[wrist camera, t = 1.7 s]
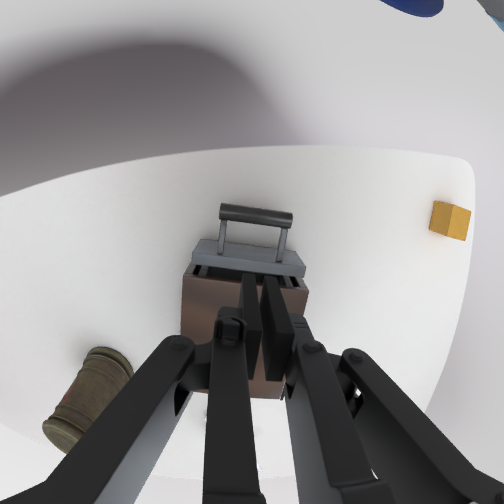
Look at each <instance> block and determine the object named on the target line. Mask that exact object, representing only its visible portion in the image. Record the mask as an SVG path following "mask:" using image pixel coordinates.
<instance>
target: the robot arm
mask: <svg viewBox="0 0 504 504" xmlns="http://www.w3.org/2000/svg"><path fill="white" fill-rule="evenodd" d="M477 1H478V2H479V3H480V4H481V5H482V7H483V8H484V9H485V11H486V13H487V14H488V15H489V16H490V17H491V18H492V19H493V20H494V21H495V22H496V24H497V25H498V26H499V27H500V28H501V29H502V31H504V0H477ZM260 343H261V346H262V354H263V362H264V370H265V379H266V381H273V382H282V380H283V377H284V373H285V378H286V381H285V385H284V388H283V391H282V394H281V398H280V400H283V397H284V396H285V402H286V409H287V416H288V423H289V430H290V437H291V444H292V452H293V459H294V467H295V474H296V482H297V489H298V497H299V504H504V484H503V483H502V482H499V481H498V480H496V479H494V478H492V477H490V476H488V475H486V474H484V473H482V472H481V471H479V470H477V469H475V468H474V467H473V465H472V464H471V463H470V462H469V461H468V460H467V459H466V458H465V457H464V456H463V455H462V454H461V452H460V451H459V450H458V449H457V448H456V447H455V446H454V445H453V444H452V443H451V442H450V441H449V440H448V438H447V437H446V436H445V435H444V434H443V433H442V432H441V431H440V430H439V429H438V428H437V427H436V426H435V425H434V423H432V421H431V420H430V419H429V418H428V417H427V416H426V415H425V414H424V413H423V412H422V411H421V410H420V409H419V408H418V406H417V405H416V404H415V403H414V402H413V401H412V400H411V399H410V398H409V397H408V396H407V395H406V394H405V393H404V392H403V391H402V390H401V389H400V388H399V386H398V385H397V384H396V383H395V382H394V381H393V380H392V379H391V378H390V377H389V376H388V375H387V374H386V373H385V372H384V371H383V370H382V369H381V368H380V367H379V366H378V365H377V364H376V363H375V361H374V360H373V359H372V358H371V357H370V356H369V355H368V354H366V353H365V352H364V351H361V350H360V349H355V348H349V349H346V350H344V351H343V353H342V356H339V355H335V354H331V353H327V351H326V349H325V347H324V345H323V344H321V343H320V342H318V341H316V340H314V337H313V335H312V333H311V330H310V329H309V326H308V323H307V321H306V319H305V318H304V317H303V316H302V315H301V314H300V313H289V312H288V311H287V308H286V305H285V302H284V299H283V296H282V293H281V290H280V287H279V284H278V281H277V278H276V277H270V276H264V281H263V287H262V292H261V298H260V304H259V300H258V293H257V286H256V279H255V275H253V274H245V273H243V275H242V282H241V289H240V297H239V304H238V308H235V307H226V306H222V307H221V308H220V309H219V310H218V314H217V319H216V320H215V323H214V333H213V339H212V340H211V341H209V342H207V343H204V344H196V345H195V343H194V341H193V340H192V339H190V338H188V337H186V336H182V335H172V336H168V337H166V338H165V339H164V340H163V341H162V342H161V343H160V344H159V346H158V347H157V348H156V349H155V350H154V351H153V353H152V354H151V355H150V356H149V357H148V358H147V360H146V361H145V362H144V363H143V364H142V365H141V367H140V368H139V369H138V370H137V371H136V372H135V374H134V375H133V376H132V377H131V378H130V380H129V381H128V382H127V383H126V384H125V385H124V387H123V388H122V389H121V390H120V391H119V393H118V394H117V395H116V396H115V397H114V398H113V400H112V401H111V402H110V403H109V404H108V406H107V407H106V408H105V409H104V410H103V412H102V413H101V414H100V415H99V416H98V418H97V419H96V420H95V421H94V422H93V424H92V425H91V426H90V427H89V428H88V430H87V431H86V432H85V433H84V434H83V436H82V437H81V438H80V439H79V440H78V442H77V443H76V444H75V445H74V446H73V448H72V449H71V450H70V451H69V452H68V454H67V455H66V456H65V457H64V459H63V460H62V461H61V462H60V464H59V465H58V466H57V467H56V468H55V470H54V471H53V472H52V473H51V474H50V476H49V477H48V478H47V479H46V481H44V482H42V483H40V484H38V485H36V486H34V487H32V488H29V489H28V490H25V491H23V492H21V493H19V494H16V495H14V496H12V497H9V498H7V499H4V500H2V501H0V504H134V502H135V500H136V499H137V497H138V495H139V493H140V491H141V489H142V488H143V486H144V484H145V482H146V480H147V479H148V477H149V475H150V473H151V471H152V469H153V468H154V466H155V464H156V462H157V460H158V458H159V456H160V455H161V453H162V451H163V449H164V447H165V445H166V443H167V442H168V440H169V438H170V436H171V434H172V432H173V430H174V429H175V427H176V425H177V423H178V421H179V419H180V417H181V415H182V413H183V412H184V410H185V408H186V406H187V404H188V402H189V400H190V398H191V396H192V394H193V391H197V390H207V389H209V391H208V405H207V419H206V435H205V453H204V473H203V499H202V504H266V499H265V497H264V495H263V494H262V493H261V492H260V488H259V480H258V471H257V462H256V452H255V443H254V433H253V423H252V413H251V403H250V393H249V382H248V380H253V378H254V373H255V368H256V363H257V358H258V353H259V348H260ZM357 388H358V389H359V391H360V392H361V394H360V396H358V395H357V394H356V393H355V392H356V390H357ZM371 469H372V470H373V472H374V473H375V475H376V476H377V477H378V479H376V478H375V477H374V475H373V473H372V470H371Z"/></svg>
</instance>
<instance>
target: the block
mask: <svg viewBox="0 0 504 504" xmlns="http://www.w3.org/2000/svg"><path fill="white" fill-rule="evenodd" d="M470 216H471V211H469V210H466V209H464V208H461V207H458V206H456V205H453V204H448V203H444V202H439V201H435V202H434V208H433V213H432V218H431V223H430V228H429V230H431V231H434V232H437V233H440V234H442V235H445V236H448V237H452V238H455V239H459V240H463V241H465V240H466V235H467V231H468V226H469V221H470Z"/></svg>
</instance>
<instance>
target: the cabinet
mask: <svg viewBox="0 0 504 504" xmlns="http://www.w3.org/2000/svg"><path fill="white" fill-rule="evenodd" d="M201 267H202V265H197V264H191V263H190V264H189V266H188V268H187V270H186V271H185V273H184V275H183V285H182V305H181V335H182V336H186V337H188V338H190V339H192V340H193V341H194V343H195V345H196V344H204V343H207V342H209V341H211V340H212V339H213V333H214V323H215V320H216V319H217V314H218V310H219V309H220V308H221V307H222V306H226V307H235V308H238V304H239V297H240V289H241V282H242V281H239V280H231V279H223V278H216V277H208V276H201V275H198V274H199V272H200V269H201ZM289 278H290V280H291V282H292V285H293V287H291V286H282V285H279V287H280V290H281V293H282V296H283V299H284V302H285V305H286V308H287V311H288V312H289V313H300V314H301V315H302V316H303V314H304V310H305V306H306V302H307V298H308V294H309V290H308V288H307V286H306V285H305V283H304V281H303V279H302V278H301V277H293V276H289ZM256 286H257V293H258V300H259V304H260V298H261V292H262V287H263V283H256ZM285 380H286V378H285V373H284V377H283V380H282V382H273V381H266V379H265V370H264V362H263V354H262V346H261V343H260V348H259V353H258V358H257V363H256V368H255V373H254V378H253V380H248V382H249V393H250V398H262V399H280V396H281V393H282V390H283V386H284V383H285ZM208 391H209V389H207V390H197V391H193V392H200V393H207V394H208Z"/></svg>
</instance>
